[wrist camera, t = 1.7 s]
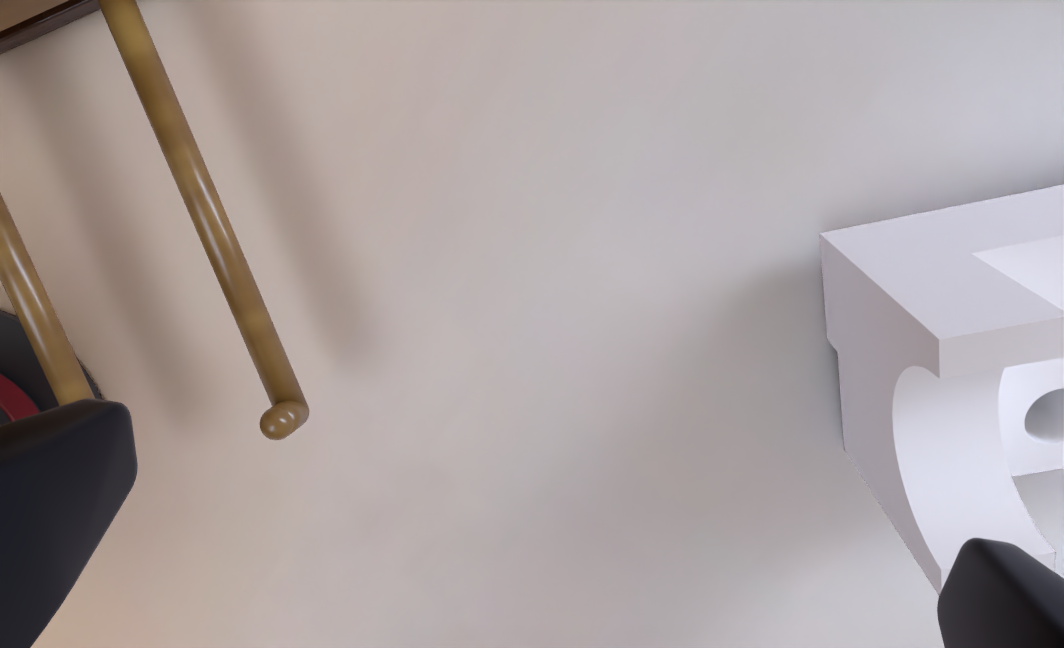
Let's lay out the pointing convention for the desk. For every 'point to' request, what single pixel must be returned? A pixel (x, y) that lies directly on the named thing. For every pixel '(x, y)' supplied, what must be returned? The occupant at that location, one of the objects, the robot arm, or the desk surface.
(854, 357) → the bracket
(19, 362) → the top hat
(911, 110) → the desk surface
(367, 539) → the desk surface
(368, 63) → the desk surface
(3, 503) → the robot arm
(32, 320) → the hook rack
